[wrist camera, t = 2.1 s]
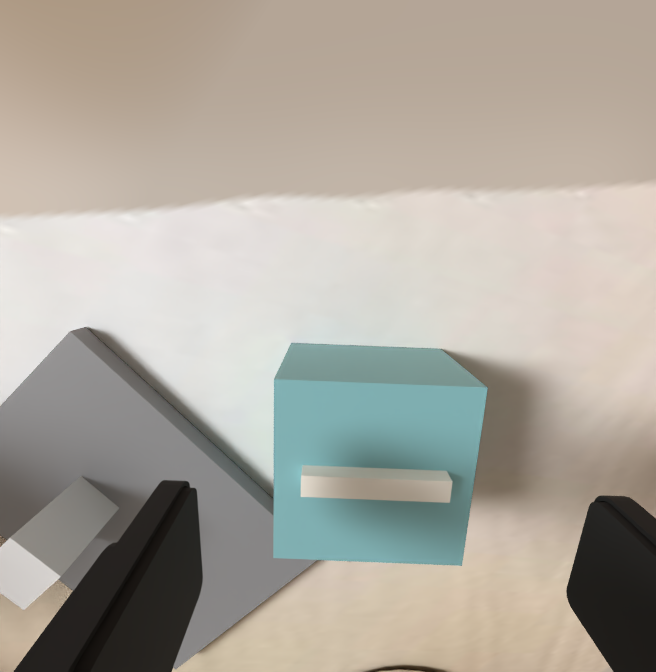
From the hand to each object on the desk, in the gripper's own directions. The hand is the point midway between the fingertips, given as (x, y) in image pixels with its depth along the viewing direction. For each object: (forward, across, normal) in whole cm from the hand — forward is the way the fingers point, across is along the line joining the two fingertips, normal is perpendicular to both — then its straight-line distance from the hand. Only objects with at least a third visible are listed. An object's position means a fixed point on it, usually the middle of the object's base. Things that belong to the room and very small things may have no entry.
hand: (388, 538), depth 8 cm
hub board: (+8, +11, +7) cm, 16 cm away
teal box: (+9, 0, +1) cm, 9 cm away
